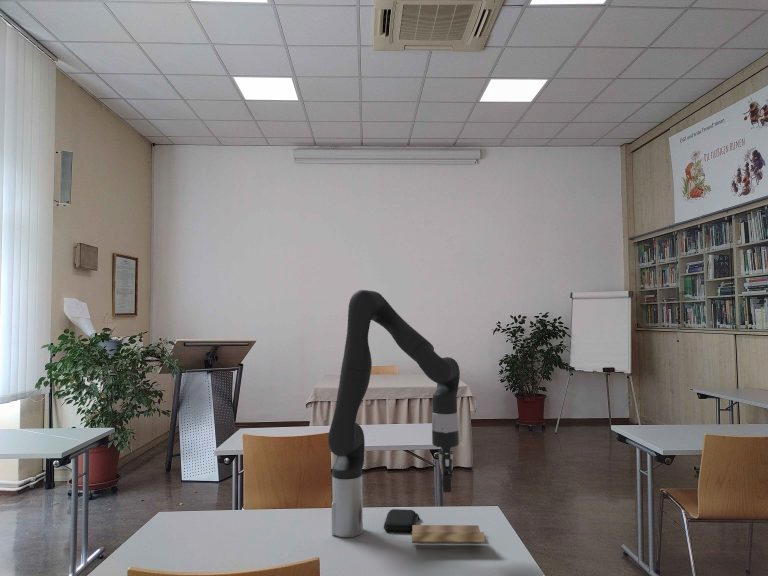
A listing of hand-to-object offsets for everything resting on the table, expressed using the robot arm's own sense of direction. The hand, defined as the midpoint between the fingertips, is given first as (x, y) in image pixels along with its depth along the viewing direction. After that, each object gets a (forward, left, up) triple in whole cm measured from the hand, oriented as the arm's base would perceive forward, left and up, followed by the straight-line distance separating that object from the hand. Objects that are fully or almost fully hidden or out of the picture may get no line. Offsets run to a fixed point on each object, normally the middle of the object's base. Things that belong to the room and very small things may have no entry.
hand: (446, 489), depth 153 cm
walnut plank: (0, +10, -17) cm, 20 cm away
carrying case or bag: (-13, +20, -18) cm, 30 cm away
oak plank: (0, +1, -15) cm, 15 cm away
